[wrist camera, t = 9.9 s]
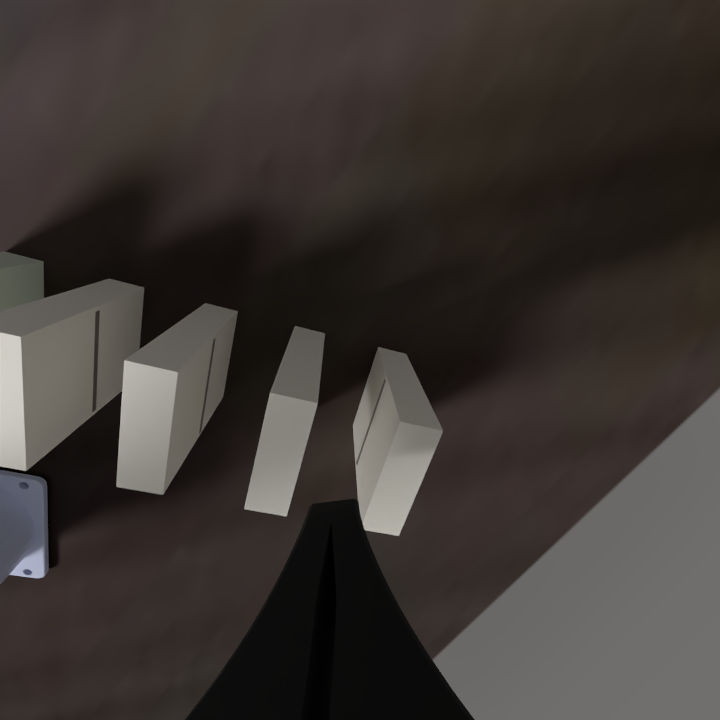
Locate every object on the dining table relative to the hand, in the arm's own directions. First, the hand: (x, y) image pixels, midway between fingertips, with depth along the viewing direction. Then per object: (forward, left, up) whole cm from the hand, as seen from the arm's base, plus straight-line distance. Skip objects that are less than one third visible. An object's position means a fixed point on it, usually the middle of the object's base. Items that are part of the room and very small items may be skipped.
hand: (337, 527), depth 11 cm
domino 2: (-2, 0, -10) cm, 11 cm away
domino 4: (-11, 0, -10) cm, 15 cm away
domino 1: (+2, 0, -10) cm, 11 cm away
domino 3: (-7, 0, -10) cm, 12 cm away
